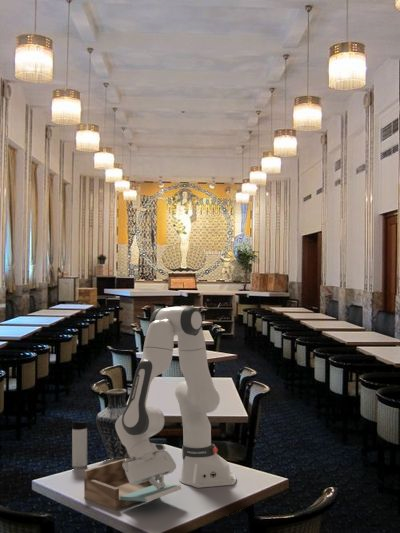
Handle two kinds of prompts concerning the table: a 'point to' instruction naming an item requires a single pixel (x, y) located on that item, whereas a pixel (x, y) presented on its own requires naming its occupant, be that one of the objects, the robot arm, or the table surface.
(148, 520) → the table surface
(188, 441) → the robot arm
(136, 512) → the table surface
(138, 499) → the teal flat panel
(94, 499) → the wooden drawer
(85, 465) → the travel mug
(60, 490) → the table surface
